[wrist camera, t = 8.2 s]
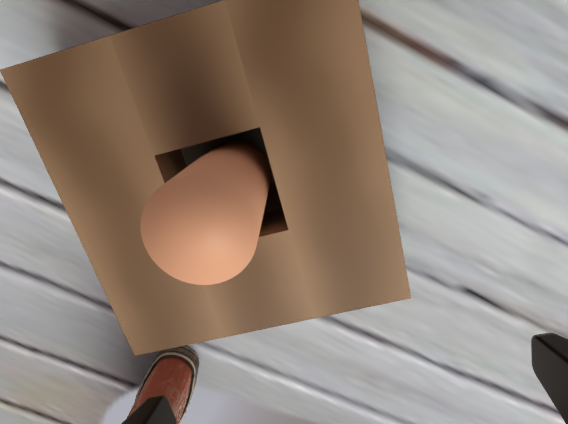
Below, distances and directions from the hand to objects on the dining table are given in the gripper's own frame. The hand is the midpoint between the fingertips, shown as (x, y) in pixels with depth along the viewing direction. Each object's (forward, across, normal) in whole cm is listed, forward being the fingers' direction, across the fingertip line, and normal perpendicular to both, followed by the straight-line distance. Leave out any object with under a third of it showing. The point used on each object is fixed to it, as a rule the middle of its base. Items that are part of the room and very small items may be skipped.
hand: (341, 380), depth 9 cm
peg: (+11, +4, -4) cm, 12 cm away
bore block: (+12, +4, -3) cm, 13 cm away
